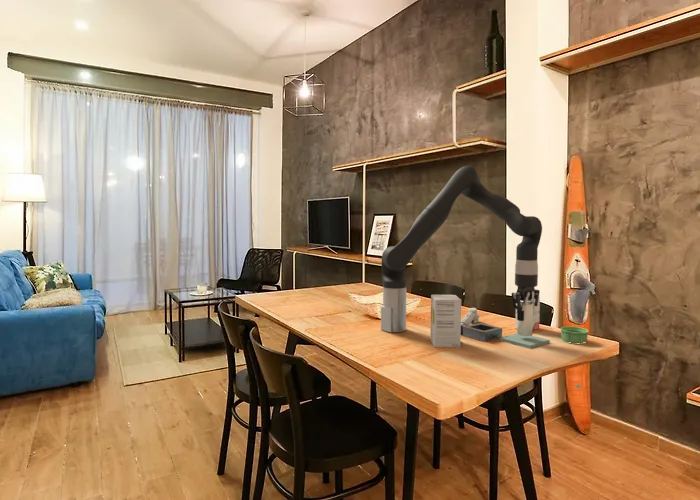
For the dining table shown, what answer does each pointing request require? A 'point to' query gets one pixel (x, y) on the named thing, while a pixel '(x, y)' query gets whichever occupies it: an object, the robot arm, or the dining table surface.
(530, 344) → the mat
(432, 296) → the supplement box
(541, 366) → the dining table surface
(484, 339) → the socket block
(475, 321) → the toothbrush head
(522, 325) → the end plug
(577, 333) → the ramekin
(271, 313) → the dining table surface
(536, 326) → the ink cartridge box
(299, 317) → the dining table surface
